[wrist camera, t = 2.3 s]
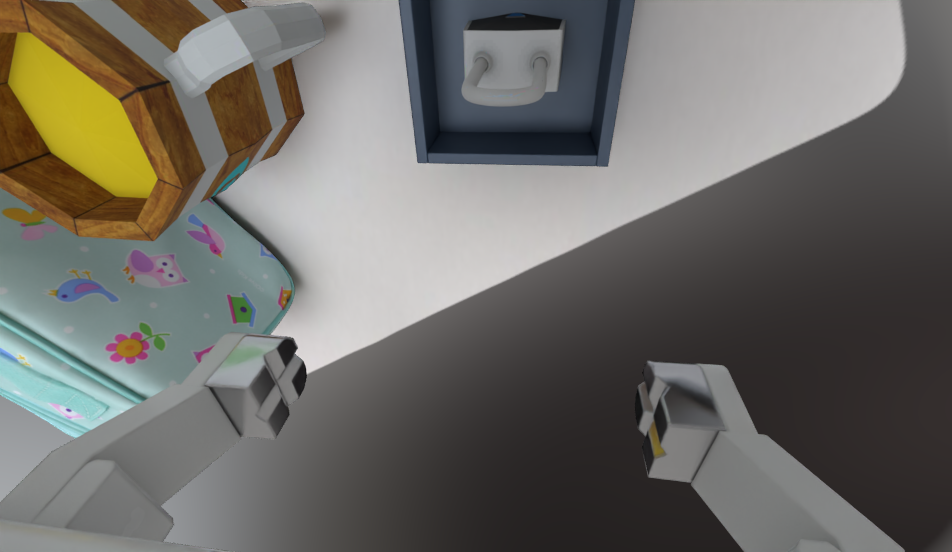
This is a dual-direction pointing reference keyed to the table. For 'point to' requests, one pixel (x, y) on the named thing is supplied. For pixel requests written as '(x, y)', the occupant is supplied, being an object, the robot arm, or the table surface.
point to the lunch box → (123, 309)
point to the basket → (525, 126)
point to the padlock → (512, 58)
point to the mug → (142, 104)
